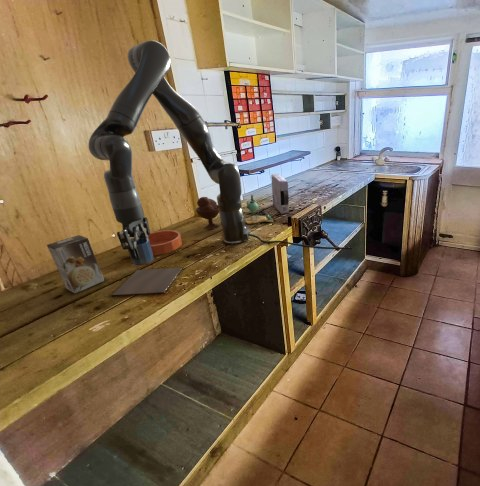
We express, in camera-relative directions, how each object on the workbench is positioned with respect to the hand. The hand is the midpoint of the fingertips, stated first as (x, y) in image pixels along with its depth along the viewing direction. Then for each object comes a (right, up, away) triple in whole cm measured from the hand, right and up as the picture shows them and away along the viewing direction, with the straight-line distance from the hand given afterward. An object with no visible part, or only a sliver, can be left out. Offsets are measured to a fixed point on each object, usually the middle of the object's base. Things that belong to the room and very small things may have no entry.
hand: (141, 254), depth 101 cm
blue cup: (0, -2, +1) cm, 3 cm away
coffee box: (-21, -11, +3) cm, 23 cm away
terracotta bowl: (-9, +2, +29) cm, 31 cm away
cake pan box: (+35, +22, +72) cm, 83 cm away
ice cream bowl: (+4, +11, +50) cm, 52 cm away
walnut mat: (0, -9, +4) cm, 10 cm away
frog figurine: (+25, +14, +55) cm, 62 cm away
